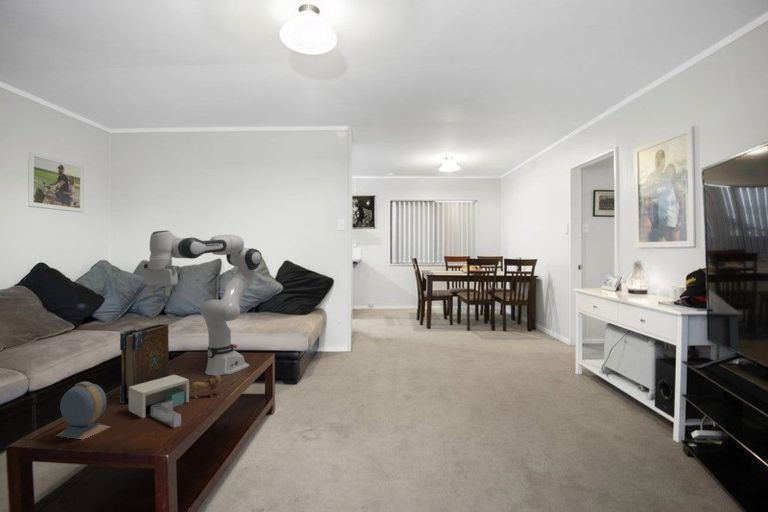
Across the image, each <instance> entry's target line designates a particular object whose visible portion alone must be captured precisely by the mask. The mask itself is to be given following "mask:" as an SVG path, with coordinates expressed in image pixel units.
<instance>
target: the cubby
mask: <svg viewBox="0 0 768 512" xmlns="http://www.w3.org/2000/svg"><path fill="white" fill-rule="evenodd" d="M175 390H181V391H183V392H184V403H185V404H187V402H188V403H190V394H189V391H190V379H188V378H185V377H183V376H179V375H176V374H171V375H169V376H168V377H164V378H160V379H156V380H153V381H149V382H145V383H142V384H138V385H134V386H131V387H129V401H128V412H130V413H133V414H134V415H137V416H138V417H140V418H142V419H144V418H146V407H148V406H151V405H154V404H158V403H161V402H164V401H166V393H168V392H172V391H175Z"/></svg>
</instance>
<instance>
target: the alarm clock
mask: <svg viewBox="0 0 768 512" xmlns="http://www.w3.org/2000/svg"><path fill="white" fill-rule="evenodd" d="M106 407H107V396H106V392H105V391H104V389H103V388H102V387H101V386H100V385H98V384H96V383H95V384H94V383H92V382H90V381H81V382H78V383H75V384H74V386H72V387H71V388H70V389H68V390H67V391H66V392H65V393H64V394H63V395H62V397H61V401H60V404H59V408H60V409H59V410H60V412H61V417H62V418H63V420H64V421H65V422H66V423H67V424H69V426H68V427H67V428H66V429H64V430H63V431H61V432H59V433H57V434H56V435H55V437H56V436H62V437H61V438H63V437H68V438H67V439H69V438H76V439H82V440H81V441H84V440H83V439H85V438H87V439H89V438H91V437H93V436H95V435H98V434H99V433H102V432H103V431H105V430H108V429H109V428H111V426H109V425H106V424H104V423H99V422H96V420H97V419H99V418H100V417H101V416H102V415H103V413H104V412H105V410H106ZM94 434H95V435H94ZM92 435H93V436H92ZM90 436H91V437H90ZM88 437H89V438H88ZM76 439H75V440H76ZM85 440H86V439H85Z"/></svg>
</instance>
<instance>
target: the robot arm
mask: <svg viewBox="0 0 768 512" xmlns="http://www.w3.org/2000/svg"><path fill="white" fill-rule="evenodd" d="M149 251H150V255H149V261H147V262H146V263H144V264H143V265H142V269H143V283H144V285H146V286H147V285H149V290H150V291H151V292H150V293H151V295H157V294H158V290H157V288H156V287H157V286H165V291H164V292H163V296H165V297H167V296H171V295H170V294H171V291H172V288H173V287H175V286H177V285H178V283H179V282H178V281H179V280H178V279H179V278H178V272H177V270H176V269H177V268H176V267H175V266H174V265H173V258H175V259H191V260H193V259H197V258H199V257H200V256H203V255H204V254H205V255H206V254H212V255H216V256H225V257H226V261H227V263H228V264H229V265H230V266H233V267H237V270H236V271H235V273H233V275H232V277H231V278H230V279H229V280H228V281H227V283H226V284H225V286H224V287H223V293H224V294H223V296H222V297H221V299H215V298H214V299H213V298H212V299H207V300H205V301H203V302H202V303H201V304H200V307H199V312H200V315H201V316H202V317H203V319H204V321H205V323H206V324H205V325H206V328H207V332H208V333H207V334H208V346H207V363H206V369H205V374H206V375H208V376H215V375H220V376H223V375H231V374H235V373H237V372H239V371H242V370H244V369H247V368H249V367H250V364H249V363H247V362H246V361H245V358H244V356H243V354H241V353H239V352H238V351H236V350H235V349H238V344H232V331H231V328H230V327H229V326H228V323H227V322H230V321H234V320H237V318H239V316H240V314H241V307H240V303H241V300H242V298H243V297H244V295H245V294H246V292H247V290H248V289H249V288H250V286H251V285H252V283H253V281H254V279H255V277H256V270H257V269H258V267H259V265H261V262H262V257H263V256H262V252H261V251H260V250H258V249H256V248H253V247H252V248H250V247H245V242H244V239H243V238H242V237H241V236H239V235H235V234H219V235H214V236H211V237H210V239H209V240H202V239H199V238H196V237H194V236H193V237H185V238H184V237H183V238H181V237H179V236H177V235H175V234H173V233H172V232H171V231H170V230H156V231H153V232H152V233H151V235H150V239H149Z"/></svg>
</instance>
